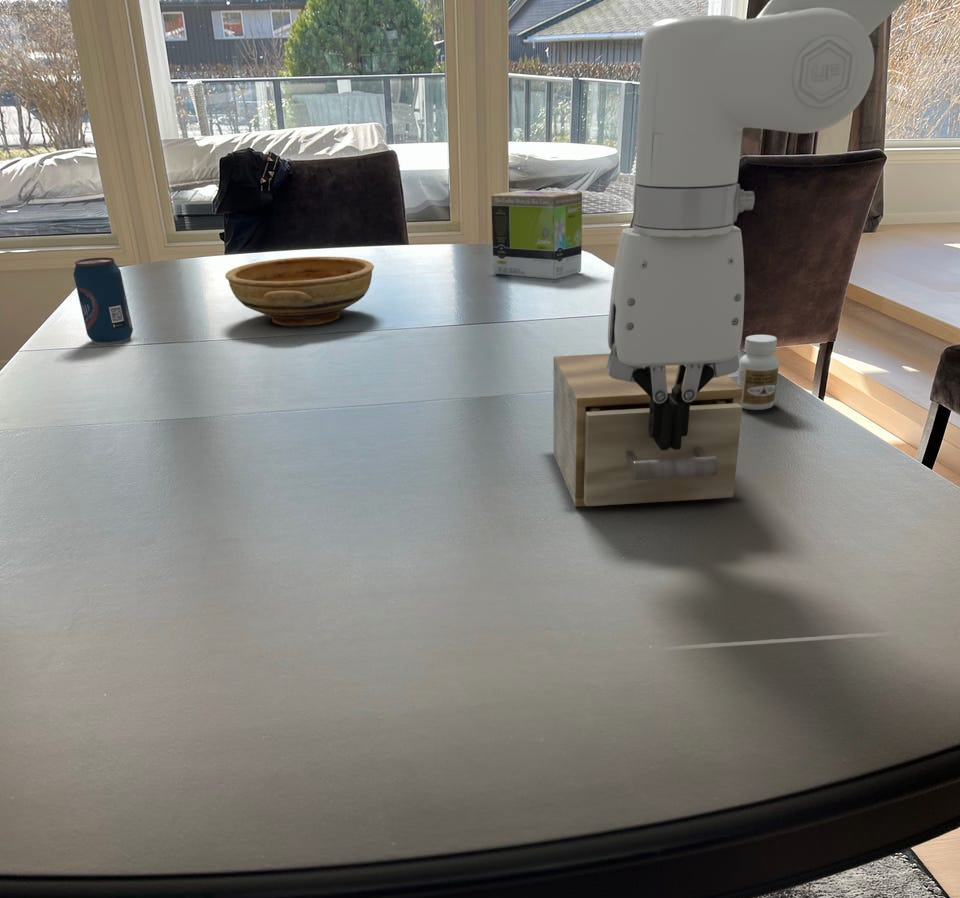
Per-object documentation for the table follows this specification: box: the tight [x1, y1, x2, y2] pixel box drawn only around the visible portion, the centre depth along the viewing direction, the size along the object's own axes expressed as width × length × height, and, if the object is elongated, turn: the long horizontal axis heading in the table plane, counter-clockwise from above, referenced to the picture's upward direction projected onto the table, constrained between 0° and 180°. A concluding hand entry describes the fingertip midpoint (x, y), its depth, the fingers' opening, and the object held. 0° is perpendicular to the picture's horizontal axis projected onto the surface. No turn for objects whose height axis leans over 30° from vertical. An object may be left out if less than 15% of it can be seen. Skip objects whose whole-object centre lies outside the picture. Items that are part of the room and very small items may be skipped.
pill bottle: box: [736, 334, 780, 411], centre depth 112 cm, size 4×4×8 cm
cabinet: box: [552, 353, 743, 508], centre depth 93 cm, size 15×15×10 cm
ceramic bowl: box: [225, 256, 375, 327], centre depth 162 cm, size 30×24×8 cm
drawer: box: [584, 399, 743, 507], centre depth 89 cm, size 18×13×8 cm
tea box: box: [490, 189, 583, 280], centre depth 189 cm, size 15×10×15 cm, turn 52°
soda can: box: [72, 257, 134, 346], centre depth 152 cm, size 7×7×12 cm
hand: (666, 444), depth 83 cm, fingers closed
